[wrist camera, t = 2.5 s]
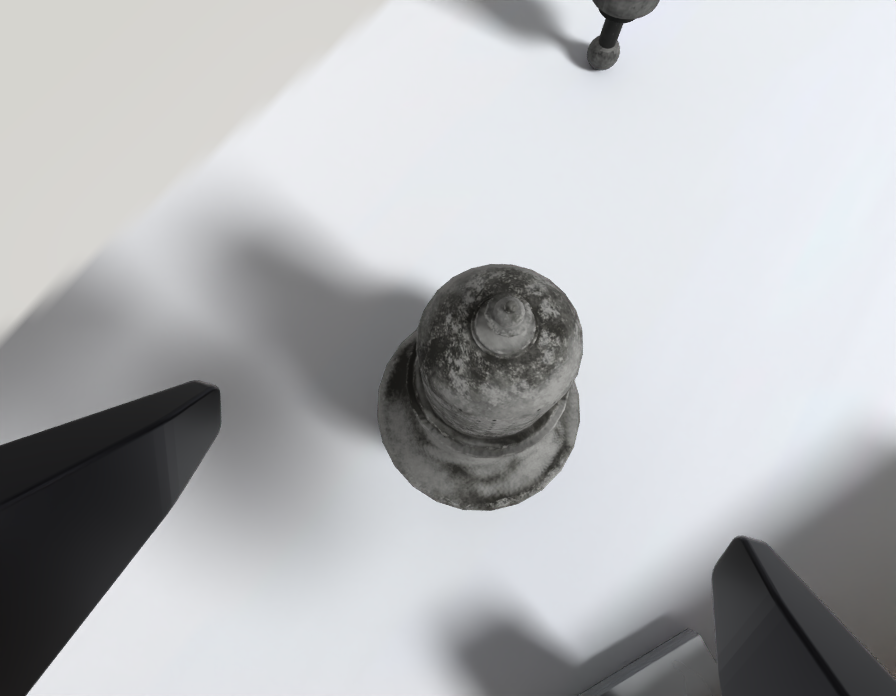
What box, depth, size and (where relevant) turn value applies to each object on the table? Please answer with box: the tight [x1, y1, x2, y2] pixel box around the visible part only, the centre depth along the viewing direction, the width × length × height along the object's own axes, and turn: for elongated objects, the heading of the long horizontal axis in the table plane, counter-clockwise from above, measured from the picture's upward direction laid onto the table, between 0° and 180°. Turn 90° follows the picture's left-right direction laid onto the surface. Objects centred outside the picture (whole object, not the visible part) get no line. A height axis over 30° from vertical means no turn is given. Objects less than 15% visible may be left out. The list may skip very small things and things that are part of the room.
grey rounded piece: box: [377, 264, 583, 511], centre depth 13 cm, size 6×6×12 cm
